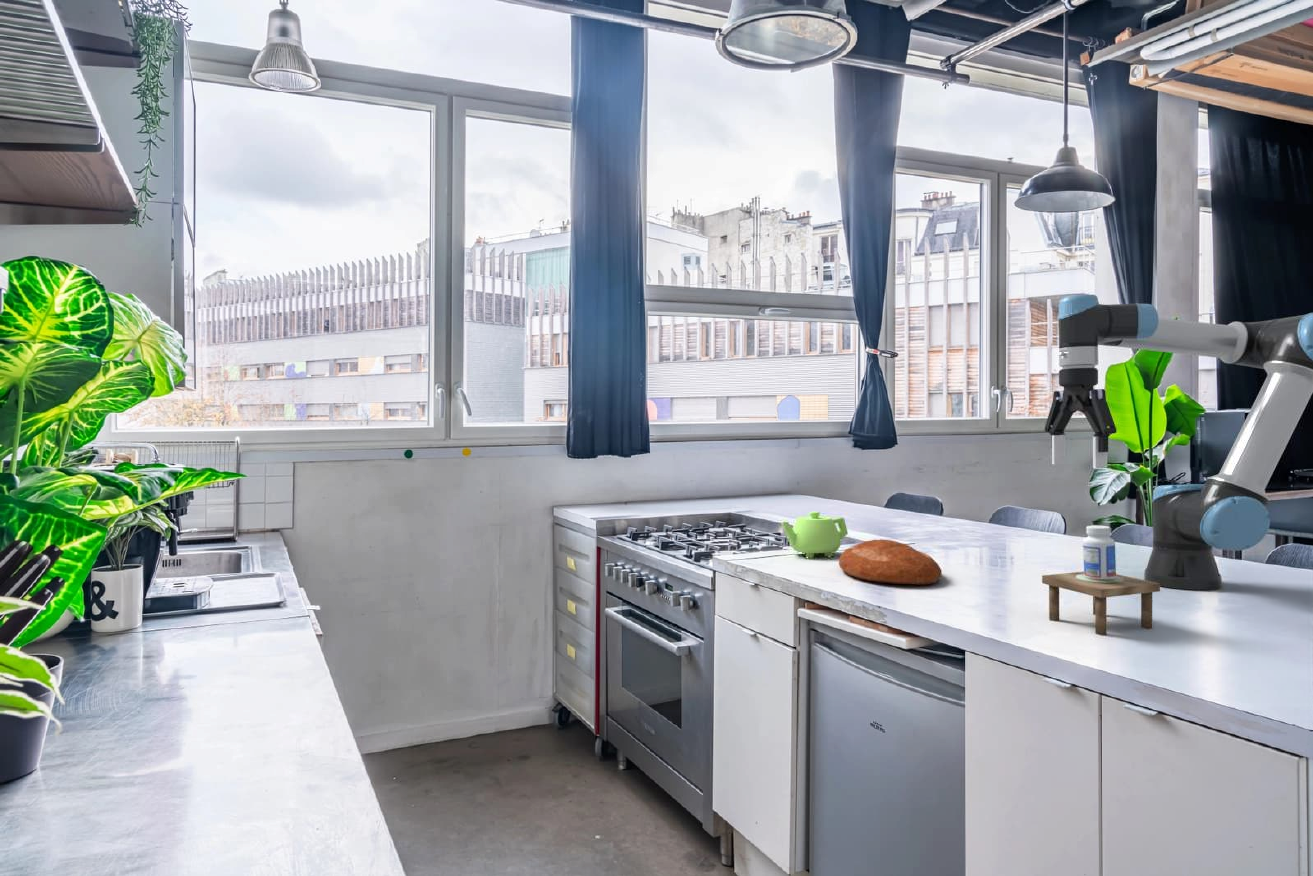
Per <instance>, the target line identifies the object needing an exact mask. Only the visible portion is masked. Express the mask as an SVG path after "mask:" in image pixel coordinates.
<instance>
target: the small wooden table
mask: <svg viewBox="0 0 1313 876" xmlns="http://www.w3.org/2000/svg"><path fill="white" fill-rule="evenodd" d="M1041 583H1042V584H1044V585H1048V619H1049V620H1050V621H1053V622H1054V621H1055V622H1058V621H1060V589H1063V590H1067V591H1072V592H1075V593H1079V594H1084V595H1087V596H1090V597H1091V596H1092V615H1094V620H1095V621H1094V622H1095V623H1094V626H1095V627H1094V629H1095V630H1094V631H1095V634H1096V635H1100V636H1106V635H1107V627H1108V626H1107V598H1112V597H1113V598H1114V597H1120V596H1121V597H1122V596H1131V595H1139V594H1140V622H1141V623H1140V627H1141V628H1142V629H1146V630H1151V629H1152V630H1153V593H1157V592H1159V593H1160V592H1161V586H1160V583H1156V582H1151V581H1146V580H1144V579H1141V578H1137V577H1133V576H1132V577H1131V576H1128V575H1127V576H1126V575H1122V574H1118V573H1116V578H1115V579H1111V580H1097V579H1089V578H1086V577H1085V576H1084V571H1077V572H1076V571H1075V572H1065V573H1055V574H1054V573H1053V574H1045V575H1042V576H1041Z"/></svg>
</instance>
